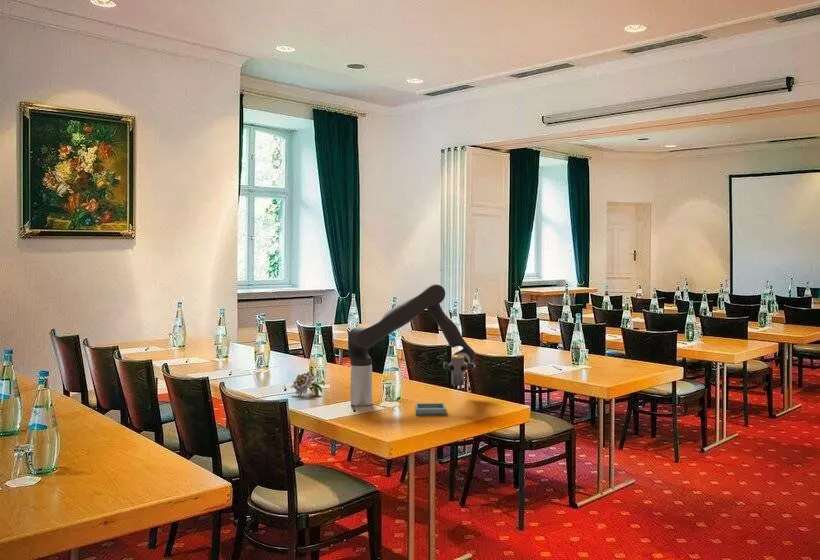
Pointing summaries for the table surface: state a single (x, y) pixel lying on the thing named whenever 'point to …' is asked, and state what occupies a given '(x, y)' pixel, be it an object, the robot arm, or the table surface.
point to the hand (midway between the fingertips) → (457, 368)
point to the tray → (430, 409)
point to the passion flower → (306, 384)
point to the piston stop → (457, 370)
